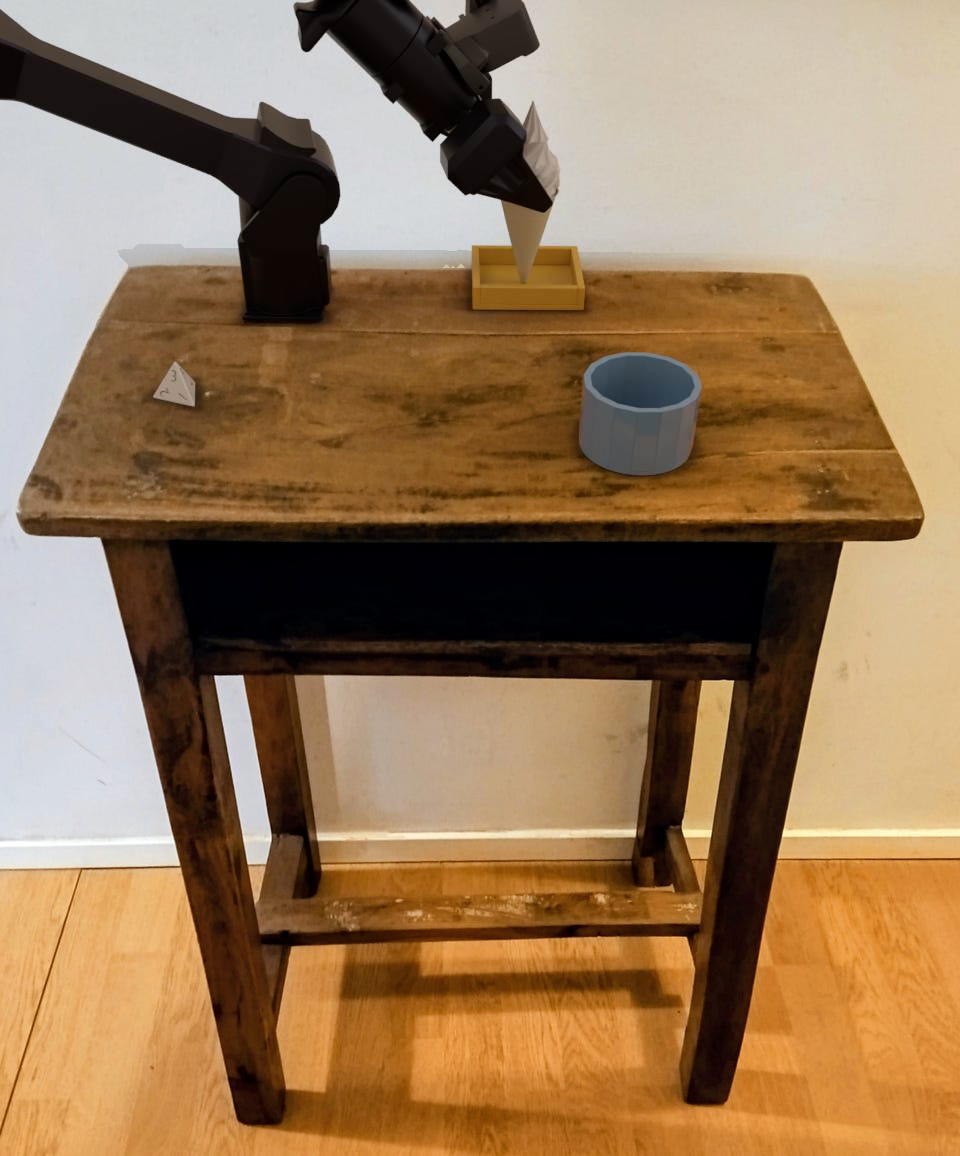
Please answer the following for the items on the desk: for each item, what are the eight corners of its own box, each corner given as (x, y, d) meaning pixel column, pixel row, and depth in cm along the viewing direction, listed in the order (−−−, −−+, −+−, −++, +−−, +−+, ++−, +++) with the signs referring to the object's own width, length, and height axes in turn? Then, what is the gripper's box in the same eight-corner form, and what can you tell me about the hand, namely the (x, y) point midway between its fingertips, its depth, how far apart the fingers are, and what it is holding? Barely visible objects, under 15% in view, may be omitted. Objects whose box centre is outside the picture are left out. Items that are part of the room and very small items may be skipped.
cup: (583, 475, 77) (589, 411, 74) (574, 413, 83) (579, 351, 80) (699, 475, 77) (710, 412, 74) (682, 413, 83) (691, 352, 80)
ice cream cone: (565, 282, 98) (578, 101, 89) (525, 301, 95) (534, 116, 86) (521, 264, 101) (529, 86, 91) (481, 282, 98) (485, 100, 88)
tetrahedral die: (214, 400, 86) (216, 360, 85) (194, 407, 83) (195, 366, 82) (173, 391, 87) (174, 352, 85) (152, 398, 84) (153, 357, 83)
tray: (472, 309, 95) (472, 287, 94) (471, 266, 102) (471, 245, 100) (583, 310, 96) (585, 288, 94) (575, 267, 102) (577, 245, 100)
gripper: (500, -11, 74) (645, 152, 83) (451, -72, 88) (579, 73, 97) (383, 119, 78) (533, 262, 87) (353, 41, 92) (485, 171, 101)
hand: (535, 185), depth 93 cm, fingers open, 9 cm apart
